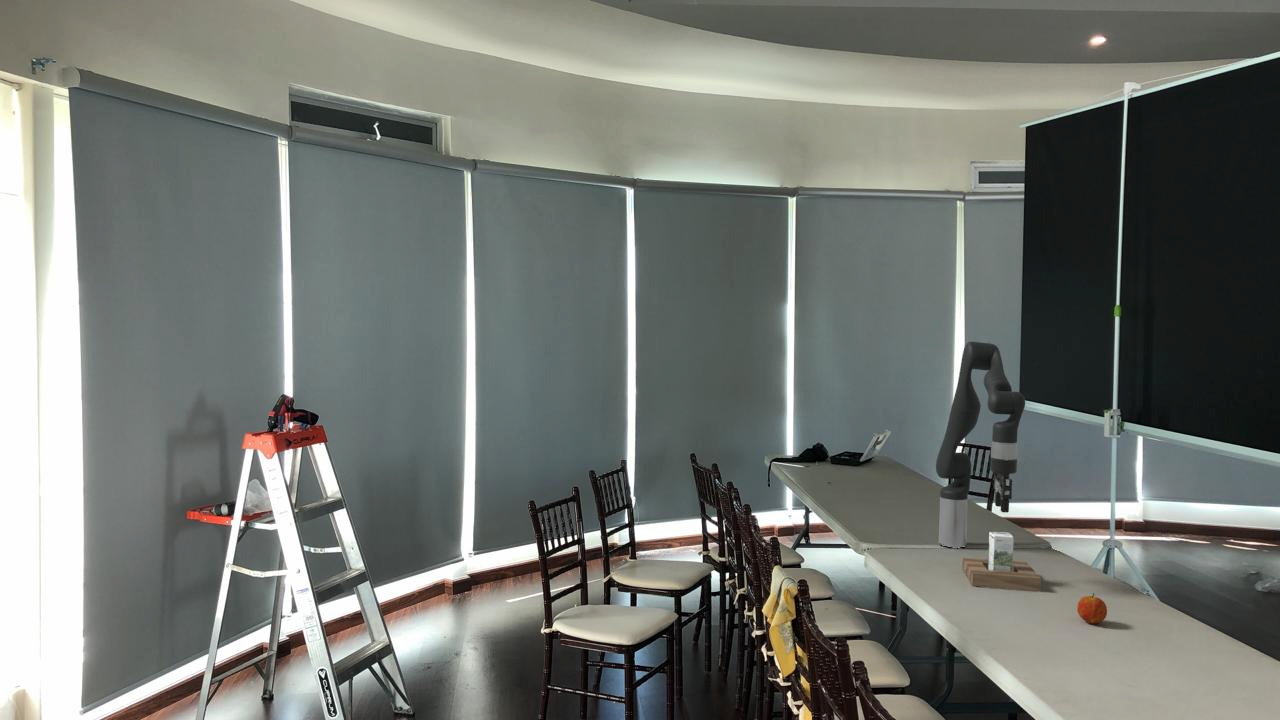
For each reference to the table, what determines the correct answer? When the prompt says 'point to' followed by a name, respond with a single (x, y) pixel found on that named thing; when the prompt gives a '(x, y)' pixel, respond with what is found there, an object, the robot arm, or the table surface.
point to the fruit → (1092, 609)
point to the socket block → (1001, 575)
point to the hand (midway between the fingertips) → (1001, 509)
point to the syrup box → (1000, 551)
